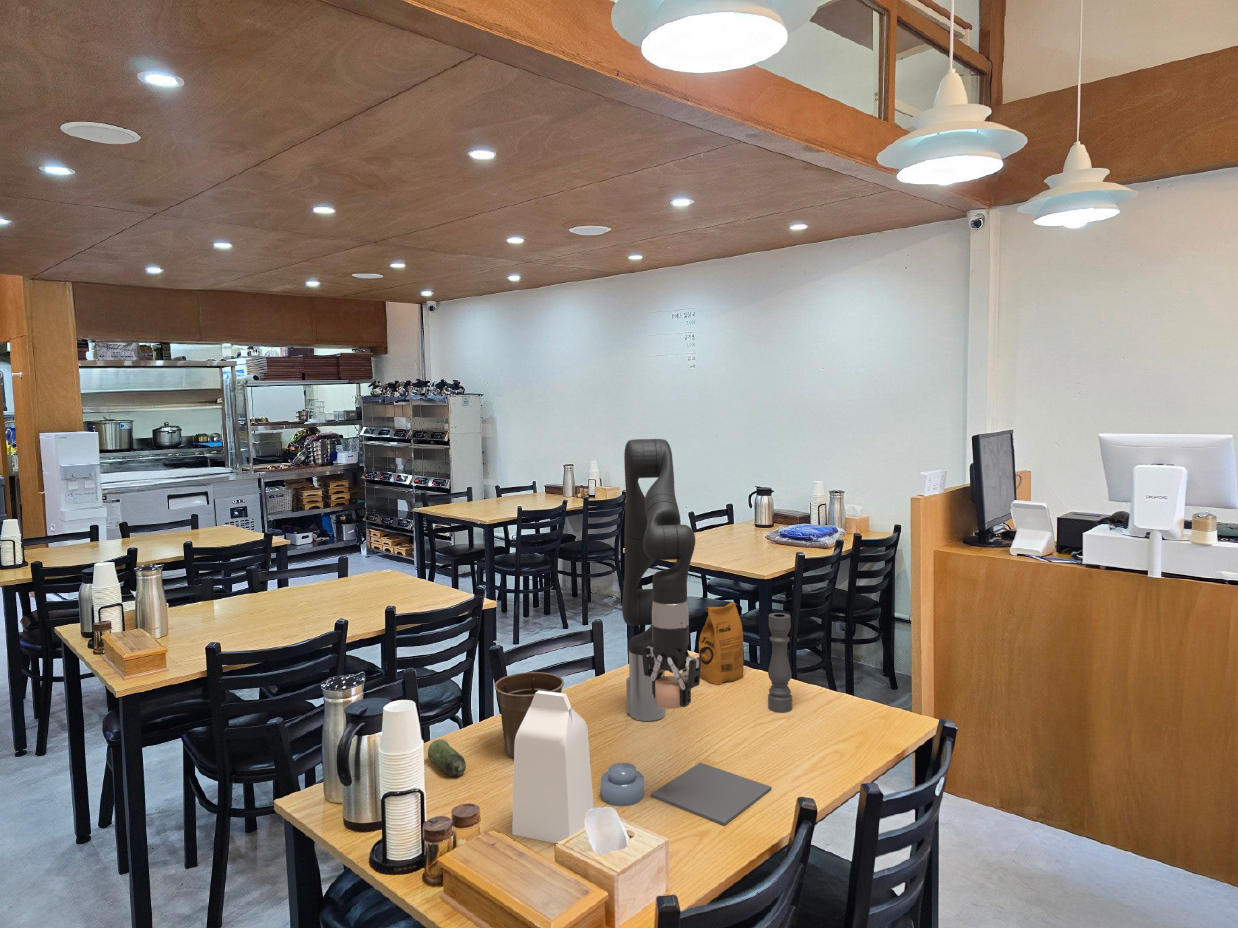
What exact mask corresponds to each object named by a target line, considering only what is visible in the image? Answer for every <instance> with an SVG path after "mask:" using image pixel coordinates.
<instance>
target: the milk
mask: <svg viewBox="0 0 1238 928" xmlns="http://www.w3.org/2000/svg"><path fill="white" fill-rule="evenodd" d="M591 769H592V768H591V757H590V743H589V731H588V726H587V722H586V720H585V719H584V718H582V716H581V715H579V713H577V712H576V711H575V710H574V709H573V708H572V704H571V703H570V701H569V698H568V696H567V693H562V692H561V693H555V692H547V691H537V692H536V693H535V695H534V698H533V700H532V703H531V706H530V707H529V709H528V711H527V713H526V715H525V717H524V719H523V721H522V723H521V725H520V727H519V729H518V732H517V734H516V737H515V743H514V758H513V786H512V787H513V791H512V793H513V795H512V831H511V833H512V834H511V835H513V836H518V837H524V838H527V839H532V840H537V841H543V842H547V843H553V844H557V843H556V842H557V841H562V840H564V839H566V838H568V837H569V836H571V835H573V834H574V833H577V832H578V831H580V830H581V829H582V828H583V824H584V817H585V813H586V811H588V810H589V809H591V808H594V809H595V807H594V795H593V793H594V792H593V782H592V781H593V779H592V770H591Z"/></svg>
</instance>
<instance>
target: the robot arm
mask: <svg viewBox="0 0 1238 928" xmlns="http://www.w3.org/2000/svg"><path fill="white" fill-rule="evenodd" d="M623 456H624V457H623V458H624V460H623V461H624V481H625V483H624V484H625V486H624V487H625V515H624V516H625V518H624V539H623V540H624V542H623V543H624V578H623V591H622V605H621V606H622V607H621V609H622V610H621V611H622V618H623V621H624V623H625V624H626V625H628V626H649V627H648V628H647V629H646V630H645V631H643V632H641V633H638V634H636V635H634V636H632V637H631V638H630V639H629V641H628V667H629V668H628V669H629V670H628V671H629V672H628V674H629V675H628V677H627V678H626V679H625V680H626V683H625V685H626V714H628V715H629V716H630V717H631V718H633V719H634V720H637V721H643V722H654V721H658V720H661V719H663V718H664V717H665V716H666V708H662V707H659V706H657V705H656V697H655V680H656V679H657V678H660V677H664V676H666V675H665V672H667V671H668V672H670V673H672V674H673V676H675V678H676V679H677V680H678V682H679V684H680V687H681V689H680V706H681V708H686V707H688V706H689V705H690V703H692V702H691V701H692V689H694V688H695V687H697V686H699V685H700V681H701V679H700V678H701V677H700V671H701V658H700V657H699V656H698V657H695V656H694V657H693V656H691V655H690V654H689V651H688V647H689V644H690V626H689V625H690V624H689V623H690V622H689V621H690V620H689V619H690V617H689V606H688V575H689V570H690V565H691V562H692V557H693V554H694V552H695V551H694V550H695V547H696V536H695V533H694V531H693V529H692V527H690V526H689V525H687V524H680V523H681V514H680V510H679V506H678V503H677V498H676V493H675V492H676V491H675V490H676V489H675V472H674V461H673V454H672V448H671V444H669V442H668V440H666V439H663V438H643V439H642V438H640V439H639V438H638V439H629V440H627V442H626V443H625V447H624V452H623ZM650 478H651V479H652V478H653V479H654V478H656V480H655V481H654V483H653V484H652V485H651V486H650V487H649V489H647V491H646V494H644V493H643V491H642V488H641V487H640V483H639V479H650ZM667 560H669V561H671V560H675V562H674V564H673V565H672V566H671V567H669V568H665V569H662V570H659V571H656V572H654V574H653V575H652V588H638V587H639V584H640V582H641V581H642V578H643V576H644V575H645V573H646V572H647V571H648V569H649V568H650V567H651V566H652V565H653V563H654V562H655V561H667ZM680 671H682V672H680ZM684 679H685V681H684Z"/></svg>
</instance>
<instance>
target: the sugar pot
mask: <svg viewBox="0 0 1238 928" xmlns="http://www.w3.org/2000/svg"><path fill="white" fill-rule="evenodd" d="M600 797H601V800H603V801H604V802H606V803H607V804H609V805H612V806H618V807H624V806H625V807H627V806H632V805H636V804H638V803H640V802H641V801H643V799H644V797H645V776H644V775H643V773H642V772H640V771H638V770H637V767H636V766H635V765H634V764H633V763H629V762H616V763H613V764H611V765H610V766H608V768H607V771H606V772H604V773H603V774H602V775H601V777H600Z"/></svg>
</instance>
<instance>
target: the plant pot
mask: <svg viewBox="0 0 1238 928" xmlns="http://www.w3.org/2000/svg"><path fill="white" fill-rule="evenodd" d="M564 685H565V681H564V679H563V678H562V677H561V676H559V675H557V674H554V673H550V672H543V671H541V672H539V671H527V672H517V673H513V674H510V675H506V676H503V677H500V679H498V680H497V681H496V682H495V683H494V690H495V691H496V694H497V703H498V705H499V707H500V708H499V709H500V718H501V725H502V734H503V744H504V745H503V747H504V752H505V754H506V755H507V756H508V757H511V758H512V759H514V743H515V737H516V734H517V732H518V729H519V727H520V725H521V723H522V721H523V719H524V717H525V715H526V713H527V711H528V709H529V707H530V706H531V703H532V700H533V698H534V695H535V693H536V692H537V691H547V692H555V693H562V690H563V689H562V688H563V687H564Z"/></svg>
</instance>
